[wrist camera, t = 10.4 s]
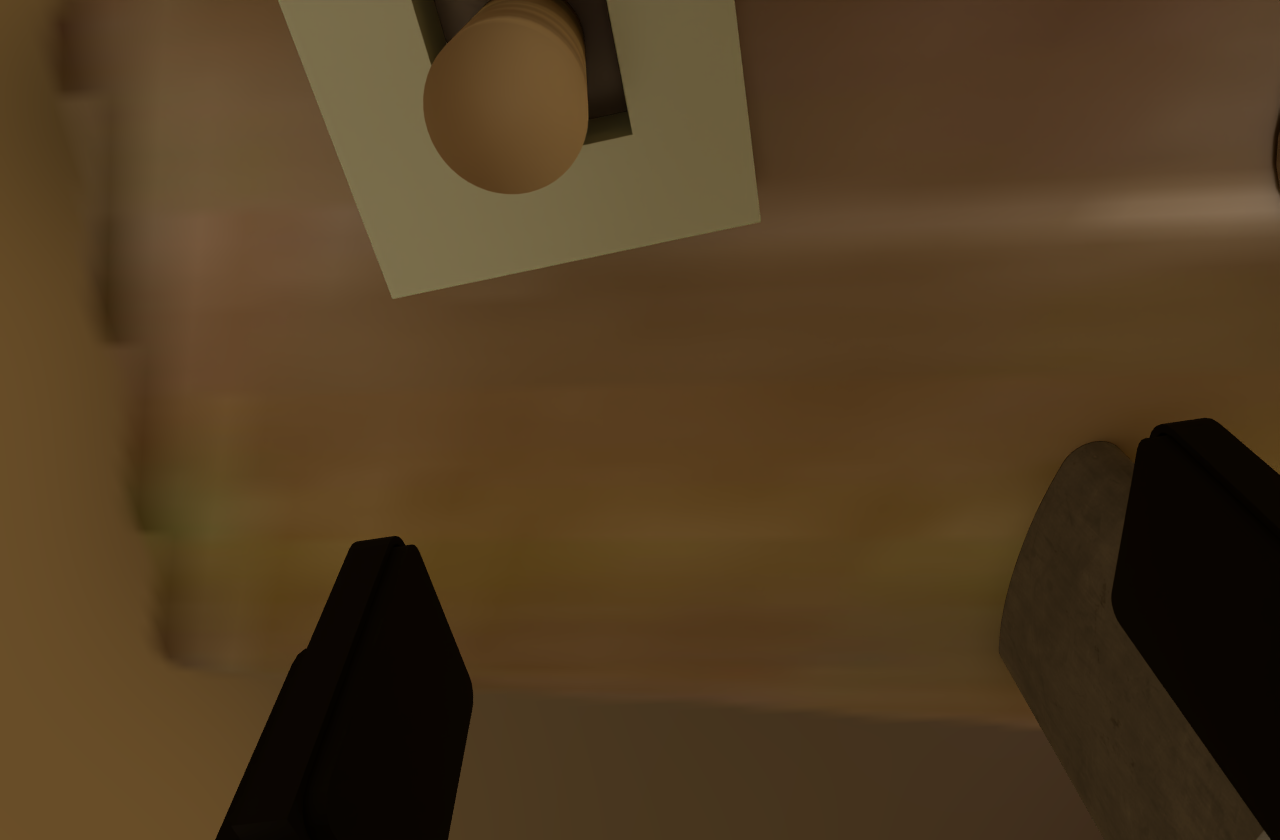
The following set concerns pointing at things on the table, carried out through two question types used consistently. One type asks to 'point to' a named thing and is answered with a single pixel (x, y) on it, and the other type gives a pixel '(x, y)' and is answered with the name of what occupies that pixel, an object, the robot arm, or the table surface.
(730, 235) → the table surface
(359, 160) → the socket block
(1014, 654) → the hip flask
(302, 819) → the robot arm
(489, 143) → the peg
